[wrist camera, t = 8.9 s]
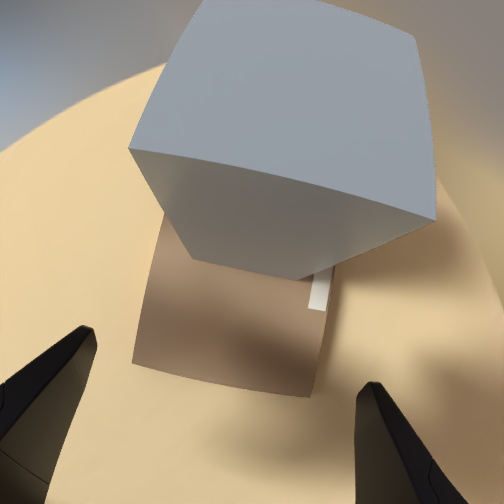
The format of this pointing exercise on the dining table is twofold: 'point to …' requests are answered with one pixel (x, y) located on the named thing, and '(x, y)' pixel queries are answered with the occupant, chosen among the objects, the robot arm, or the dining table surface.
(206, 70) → the blue-gray square block
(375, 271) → the dining table surface
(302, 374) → the block on stand
